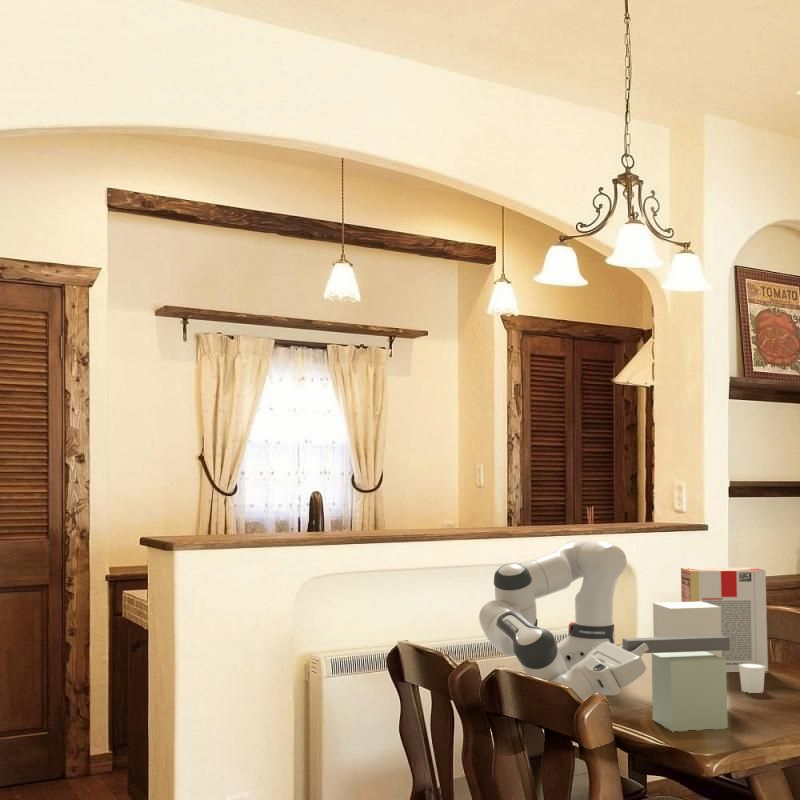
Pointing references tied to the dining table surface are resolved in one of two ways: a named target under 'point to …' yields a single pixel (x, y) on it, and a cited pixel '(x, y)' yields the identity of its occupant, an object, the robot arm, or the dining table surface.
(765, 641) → the pasta box
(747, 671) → the shot glass
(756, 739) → the dining table surface
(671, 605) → the tall stand
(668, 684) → the low stand
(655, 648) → the charcoal bar
